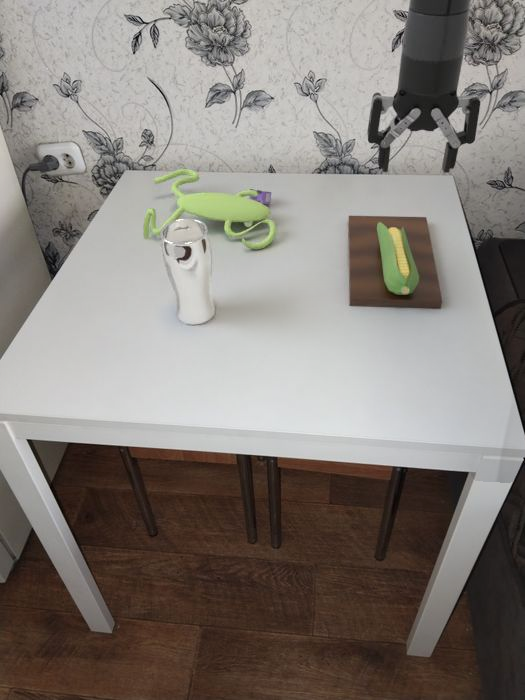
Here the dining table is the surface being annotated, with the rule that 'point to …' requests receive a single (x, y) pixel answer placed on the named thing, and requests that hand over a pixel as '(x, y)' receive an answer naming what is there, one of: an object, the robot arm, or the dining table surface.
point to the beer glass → (189, 268)
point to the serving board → (369, 269)
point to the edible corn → (397, 260)
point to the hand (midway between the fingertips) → (415, 170)
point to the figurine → (217, 208)
